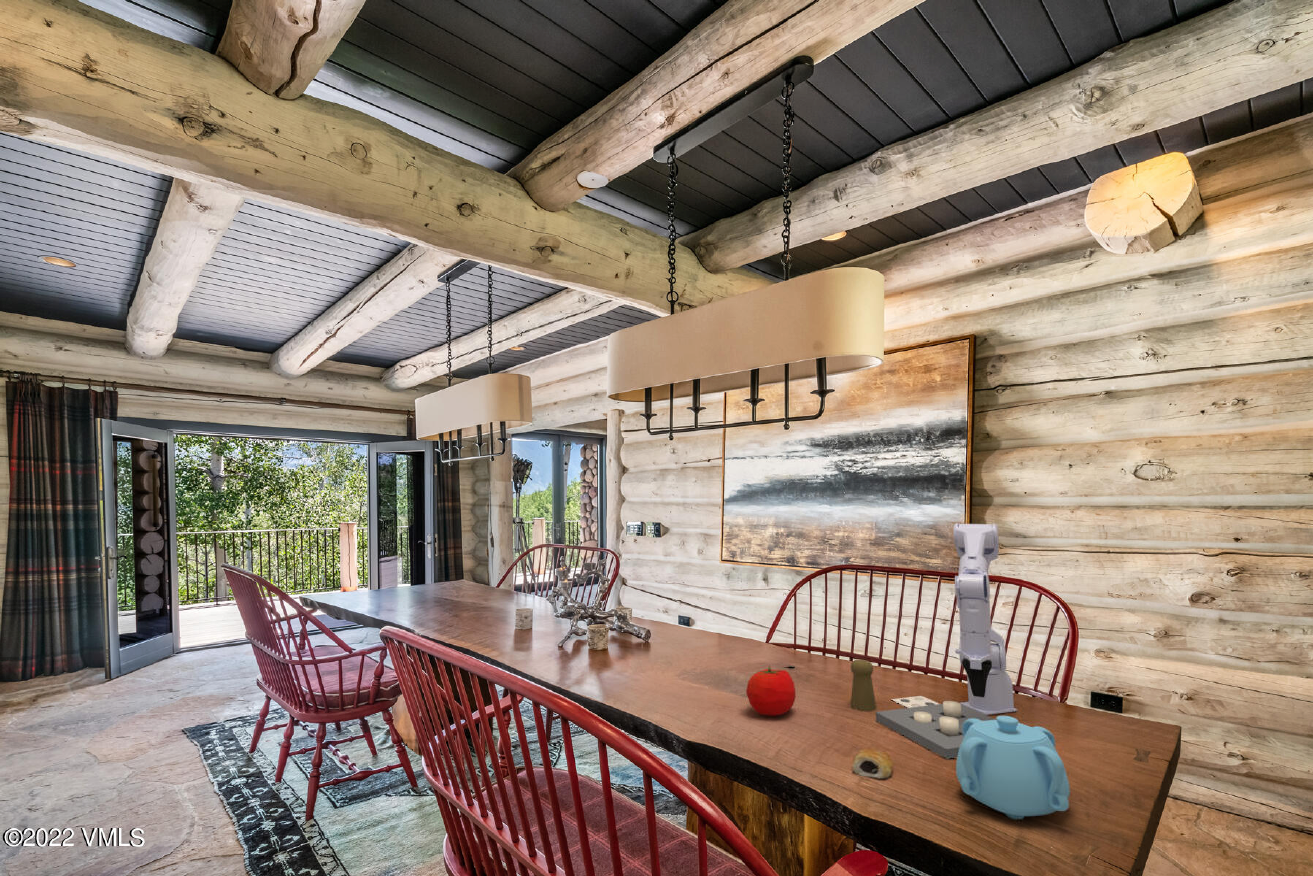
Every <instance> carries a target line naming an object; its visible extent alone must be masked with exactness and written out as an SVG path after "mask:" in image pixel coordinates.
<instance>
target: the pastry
mask: <svg viewBox="0 0 1313 876" xmlns="http://www.w3.org/2000/svg"><path fill="white" fill-rule="evenodd" d="M893 763H894V762H893V760H892V758H891V756H890V754H889V753H888V752H887V751H883V750H882V749H879V748H877V747H872V748H871V747H870V748H864V749H860V750H859V751H858V752H857V753H856V754H854V756H853V763H852V765H851V768H852V769H851V770H852V771H853V772H854V773H855V774H856V775H858V776H860V777H861V776H862V777H866V778H867V777H868V778H873V779H878V780H881V779H883V780H885V779H888V778H890V777H891V775H892V773H893V767H894V764H893Z"/></svg>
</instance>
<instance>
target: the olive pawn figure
mask: <svg viewBox="0 0 1313 876" xmlns="http://www.w3.org/2000/svg"><path fill="white" fill-rule="evenodd" d="M850 671H851V673H852V675H853V676H852V687H851V688H852V689H851V698H850V707H852V708H851V709H853V708H855V709H857V710H856V711H859V710H860V712H873V711H872V710H874V711H876V710H877V709H876V708H877V704H876V697H875V691H874V686H873V680H872V675H873V672H874V666H873V663H871V661H869V660H866V659H854V660H853V661H852V662H851V664H850ZM855 709H854V710H855ZM875 709H876V710H875Z"/></svg>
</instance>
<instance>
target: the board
mask: <svg viewBox="0 0 1313 876" xmlns="http://www.w3.org/2000/svg"><path fill="white" fill-rule="evenodd" d="M914 712H927V713H929V714H931V717H932V722H928V723H920V722H918V721H916V720H914ZM943 716H944V710H943V703H939V704H936V705H928V706H920V707H912V708H906V707H904V708H898V709H889V710H880V711H875V721H876V722H877V723H879V722H880V723H879V724H881V725H882V724H883V725H882V726H884V725H885V726H884V727H886V726H887V727H886V728H888V727H889V728H888V729H889V730H891V729H892V730H891V731H893V730H894V731H893V732H895V731H896V733H897V734H899V733H900V734H899V735H900V736H902V735H904V736H905V737H904V736H903V737H904V738H906V737H907V738H906V739H908V738H909V739H908V740H910V739H911V740H910V741H912V742H913V741H915V742H916V743H915V742H914V743H915V744H917V743H919V744H920V745H919V744H918V745H919V746H921V745H922V746H921V747H923V746H924V747H926V748H927V749H926V748H925V749H926V750H928V749H930V750H931V751H930V750H929V751H930V752H932V751H933V752H932V753H934V752H935V753H937V754H939V755H941V756H942V757H941V756H940V757H941V758H943V757H945V758H946V759H950V758H955V757H957V756H958V752H959V748H960V746H961V743H962V741H963V739H964V737H963V732H962V725H963V723H964V722H965V721H966V720H968V719H971V718H975V719H979V720H983V721H988V720H996V718H994V717H991V716H990V715H984V714H982V713H980V712H977V711H975V710H972V709H970V708H968V707H965V706H963V705H961V716H962V718H958V722H959V735H958V736H951V737H948V736H946V735H944V734H942V733H940V721H939V718H940V717H943ZM924 747H923V748H924ZM935 753H934V754H935ZM937 754H936V755H937ZM939 755H938V756H939ZM945 758H944V759H945ZM946 759H945V760H946ZM950 760H951V759H950Z"/></svg>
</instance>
